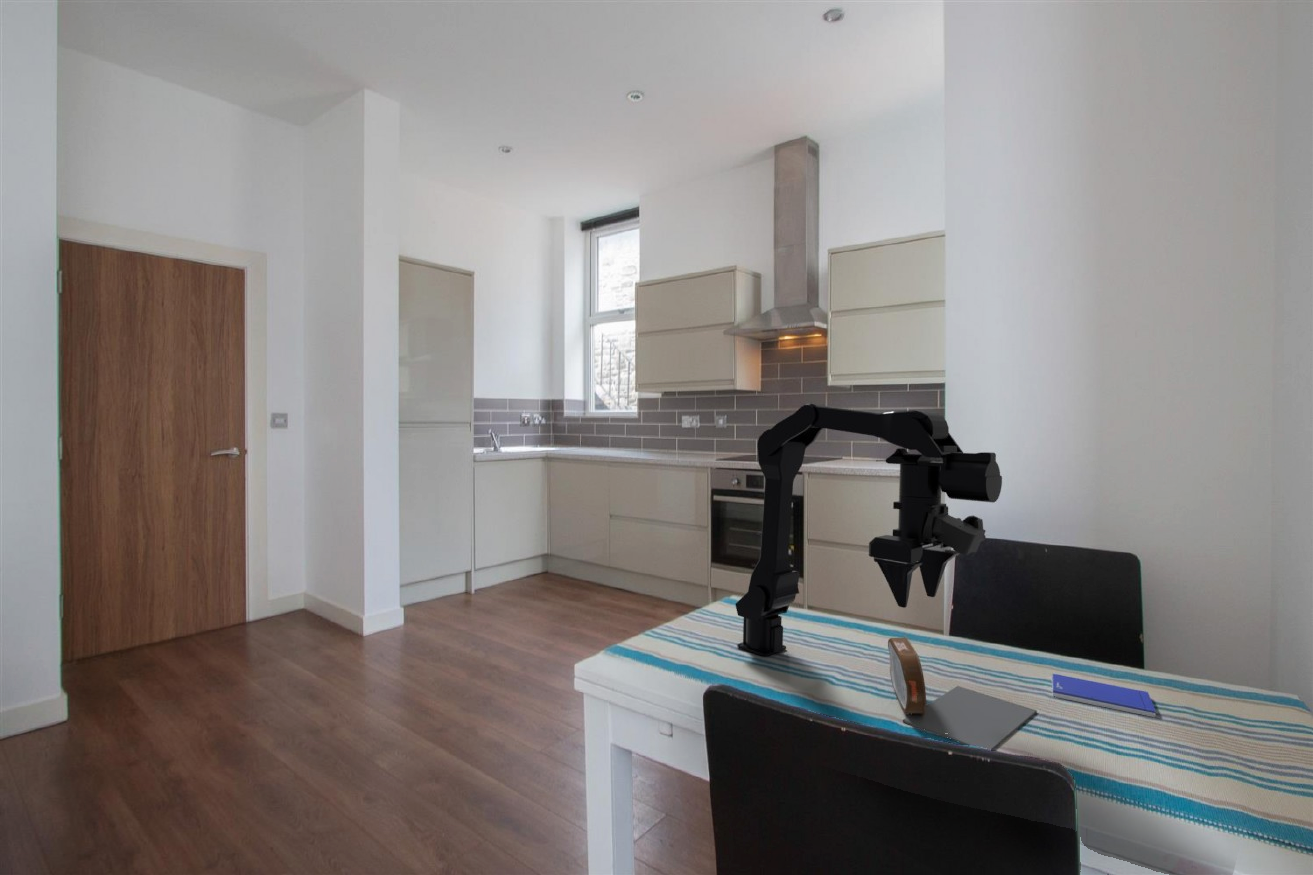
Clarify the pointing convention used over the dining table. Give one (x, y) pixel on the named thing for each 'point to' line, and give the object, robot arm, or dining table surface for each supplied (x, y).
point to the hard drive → (1102, 695)
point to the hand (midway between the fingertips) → (917, 601)
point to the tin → (907, 676)
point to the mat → (971, 718)
